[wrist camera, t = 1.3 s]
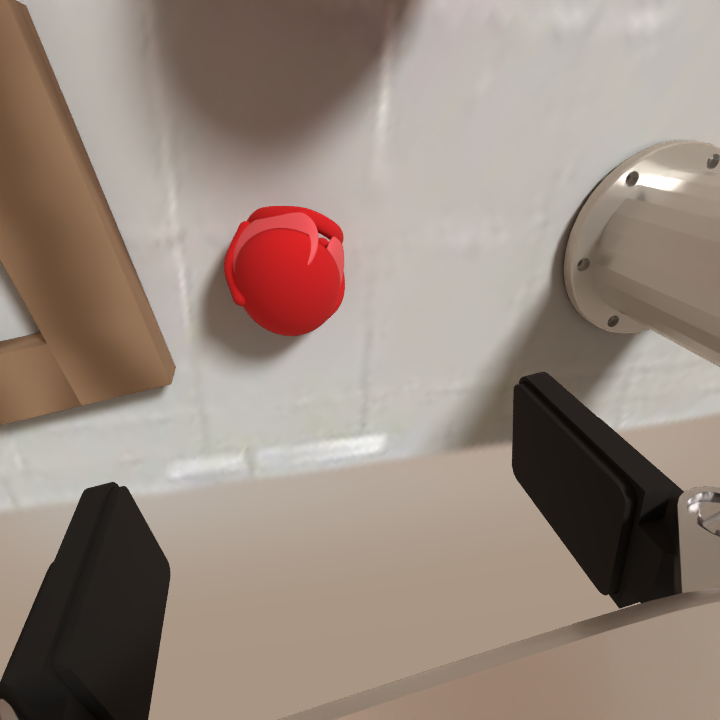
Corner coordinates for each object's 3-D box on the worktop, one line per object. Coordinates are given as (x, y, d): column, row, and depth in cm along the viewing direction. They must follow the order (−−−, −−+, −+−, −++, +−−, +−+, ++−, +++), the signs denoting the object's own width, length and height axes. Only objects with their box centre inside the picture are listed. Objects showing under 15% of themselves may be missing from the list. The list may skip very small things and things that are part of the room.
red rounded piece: (219, 176, 21) (190, 302, 21) (348, 196, 21) (323, 325, 20) (261, 241, 29) (241, 334, 29) (355, 257, 29) (337, 351, 28)
